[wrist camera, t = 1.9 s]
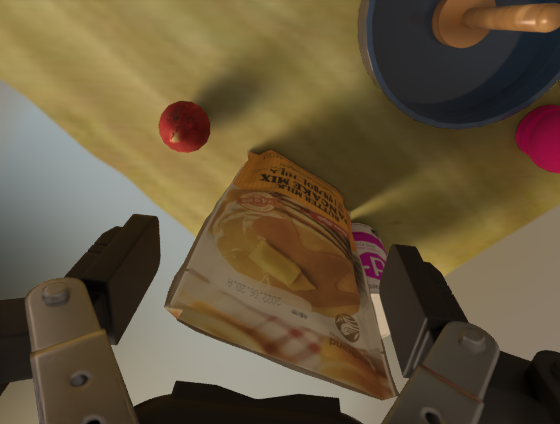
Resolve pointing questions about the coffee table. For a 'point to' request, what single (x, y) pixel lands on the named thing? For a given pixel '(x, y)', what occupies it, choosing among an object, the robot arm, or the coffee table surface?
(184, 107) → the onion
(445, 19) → the wooden disc peg
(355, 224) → the supplement can
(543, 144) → the pepper mill
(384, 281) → the robot arm
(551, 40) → the bowl
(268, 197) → the pancake mix bag
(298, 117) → the coffee table surface
